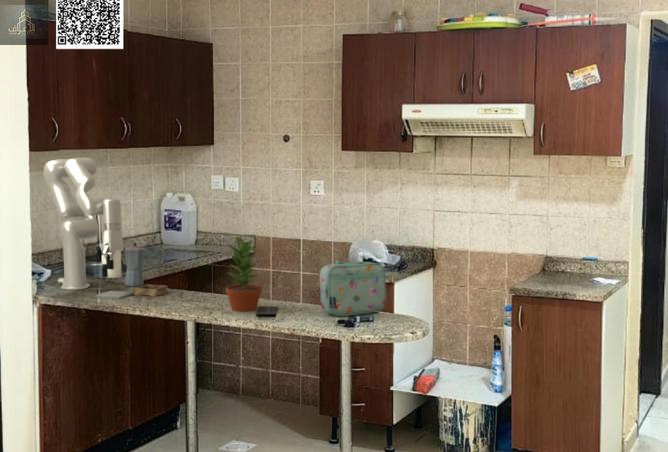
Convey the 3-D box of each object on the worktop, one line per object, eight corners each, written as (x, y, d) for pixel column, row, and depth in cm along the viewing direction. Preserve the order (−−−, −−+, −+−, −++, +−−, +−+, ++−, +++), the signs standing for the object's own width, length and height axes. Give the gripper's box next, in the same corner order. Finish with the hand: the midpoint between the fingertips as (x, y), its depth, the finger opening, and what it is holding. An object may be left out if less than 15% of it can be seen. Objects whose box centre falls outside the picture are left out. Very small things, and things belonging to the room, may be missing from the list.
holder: (134, 295, 437) (134, 288, 437) (146, 291, 447) (146, 284, 447) (155, 296, 434) (155, 289, 434) (167, 292, 444) (167, 285, 443)
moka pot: (144, 287, 456) (143, 244, 454) (113, 286, 460) (112, 243, 457) (152, 284, 466) (151, 241, 463) (121, 283, 469) (120, 241, 467)
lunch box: (326, 318, 385) (326, 264, 383) (316, 314, 395) (316, 260, 392) (388, 313, 396) (388, 259, 393) (376, 308, 405) (376, 256, 403)
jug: (99, 277, 434) (98, 250, 433) (106, 275, 440) (105, 248, 439) (117, 278, 431) (115, 250, 430) (124, 276, 437) (123, 248, 436)
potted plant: (249, 314, 395) (248, 239, 391) (219, 310, 403) (217, 236, 399) (270, 307, 407) (270, 235, 404) (241, 304, 415) (240, 233, 412)
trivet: (95, 297, 433) (95, 295, 433) (110, 292, 444) (110, 290, 444) (119, 298, 429) (119, 297, 429) (133, 294, 440) (133, 292, 440)
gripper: (115, 224, 442) (117, 264, 444) (94, 229, 426) (95, 270, 428) (130, 225, 440) (132, 265, 442) (109, 229, 423) (111, 271, 425)
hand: (114, 267), depth 435 cm, fingers closed on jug, 6 cm apart
